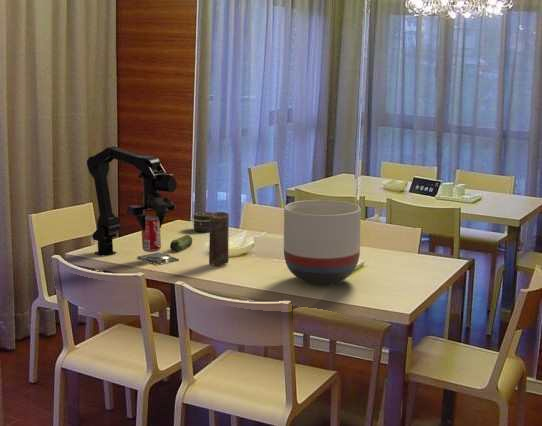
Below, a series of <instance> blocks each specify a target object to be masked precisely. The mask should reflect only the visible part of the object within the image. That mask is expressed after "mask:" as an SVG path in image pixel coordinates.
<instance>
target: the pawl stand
mask: <svg viewBox="0 0 542 426" xmlns="http://www.w3.org/2000/svg"><path fill="white" fill-rule="evenodd" d="M136 257H138V258H137V259H139V258H140V259H139V260H142V259H143V260H142V261H144V260H146V261H145V262H147V261H149V262H148V263H150V262H152V263H155V264H161V263H166V262H170V263H174V261H175V262H179V261H180V259H179V258H176V257H174V256H171V255H170V254H169V253H164V252H163V253H162V252H159V251H157V252H151V253H148V254H143V255H142V254H141V255H137V256H136ZM152 263H151V264H152ZM155 264H154V265H155ZM166 264H167V263H166ZM161 265H162V264H161Z"/></svg>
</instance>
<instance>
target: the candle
mask: <svg viewBox="0 0 542 426" xmlns="http://www.w3.org/2000/svg"><path fill="white" fill-rule="evenodd" d="M229 218H230V215H229V213H228V212H224V211H216V212H212V214H211V215H210V232H209V243H208V244H209V247H208V248H209V249H208V251H209V252H208V254H209V255H208V264H209V265H212V266H216V267H220V266H223V265H226V264H228V263H229V233H230V232H229V225H230V223H229V222H230V221H229V220H230V219H229Z"/></svg>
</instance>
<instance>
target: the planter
mask: <svg viewBox="0 0 542 426" xmlns="http://www.w3.org/2000/svg"><path fill="white" fill-rule="evenodd" d="M361 209H362V208H361V207H360V206H359V205H358V204H356V203H352V202H348V201H341V200H330V199H329V200H328V199H308V200H300V201H299V200H298V201H294V202H290V203H287V204H286V205H284V208H283V256H284V260H285V264H286V267H287V268H288V270H289V271H290V272H291V274H292V275H293V276H295V277H296V278H297V279H299V280H300V281H301V282H304V283H307V284H310V285H317V286H327V285H334V284H338V283H339V282H340V283H341V282H342V281H345V280H346V279H347V278H348V277H349V276H351V275H352V274H353V272H355V270H356V268H357V266H358V264H359V259H360V255H361V254H360V253H361V225H362V224H361V223H362V221H361V220H362V219H361V218H362V217H361V216H362V210H361Z"/></svg>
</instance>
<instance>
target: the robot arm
mask: <svg viewBox="0 0 542 426" xmlns="http://www.w3.org/2000/svg"><path fill="white" fill-rule="evenodd" d="M114 160H116V161H119V162H123V163H125V164H129V165H131V166H134V167H135V168H136V169H137V171H140V174H138V175H137V178H139V179H142V191H141V192H140V195H141V196H142V200H143V201H142V202H141V206H140V205H137V204H134V205H128V206H127V207H126V209H125V210H126V211H125V212H126V214H127V215H129V216H133V217H134V216H135V218H136V220H137V222H138V223H139V226H140V227H141V228H142V229H141V231H142V230H143V231H145V217H146V216H147V214H146V213H145V212H148V211H154V213H155V214H156V215H155V216H157V217H158V219H159V221H160V229H161V228H162V225H163V222H164V219H165V217H166V216H167V214H168V213H170V212H171V211H174V210H176V204H175V203H174V201H172V198H170V197H163V198H162V196H161V192H166V193H174V192H175V191H176V189H177V188H178V187H177V186H178V183H177V180H176V178H175V177H174V174H173V173H167V172H166V170H165V169H164V167H163V166H162V164H161V162H160V159H159V158H158V157H157V156H155V155H154V156H153V155H141V154H137V153H134V152H131V151H128V150H125V149H123V148H119V147H118V146H114V145H113V146H107V147H106V148H105V149H103V150H101V151H100V152H98V153H96V154H95V155H92V156H89V157H88V159H87V160H86V165H87V169H88V173H89V174H90V175H91V177H92V178H93V181H94V187H95V194H96V200H97V205H98V213H99V216H98V218H97V222H96V225H97V226H96V227H97V228H96V230H95V231H94V232H93V234H92V236H91V237H92V241H97V251H94V254H96V253H97V254H96V255H98V254H99V256H101V255H106V256H110V255H109V254H111V255H115V253H116V254H117V251H114V243H113V238H116V237H117V235H118V233H119V231H120V227H121V224H120V220H119V219H120V218H119V215H117V216H115V214H114V212H113V209H112V202H111V195H110V191H109V189H110V188H109V184H108V183H109V182H108V174H109V171H110V163H111V162H113V161H114Z"/></svg>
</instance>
